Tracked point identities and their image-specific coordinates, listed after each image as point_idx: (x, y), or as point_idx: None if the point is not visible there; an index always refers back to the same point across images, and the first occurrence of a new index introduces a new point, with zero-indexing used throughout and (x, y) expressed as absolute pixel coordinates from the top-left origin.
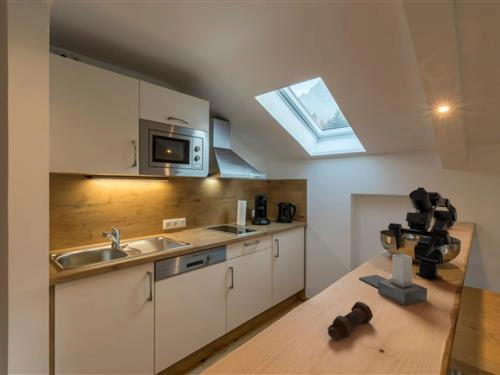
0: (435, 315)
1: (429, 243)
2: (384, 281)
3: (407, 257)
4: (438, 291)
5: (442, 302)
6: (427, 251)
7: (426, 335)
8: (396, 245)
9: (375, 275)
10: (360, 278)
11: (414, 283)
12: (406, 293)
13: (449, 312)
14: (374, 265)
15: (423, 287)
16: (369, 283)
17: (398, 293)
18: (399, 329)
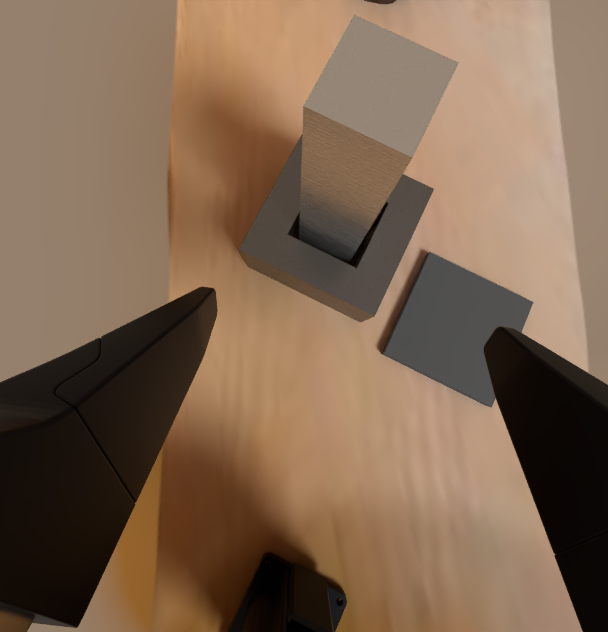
0: (210, 164)
1: (116, 365)
2: (411, 206)
3: (330, 61)
4: (221, 406)
5: None
6: (187, 300)
7: (218, 30)
8: (540, 347)
9: (490, 389)
10: (523, 297)
11: (296, 277)
12: (300, 138)
13: (173, 218)
14: (563, 586)
15: (253, 251)
16: (470, 272)
17: None
18: (281, 15)
